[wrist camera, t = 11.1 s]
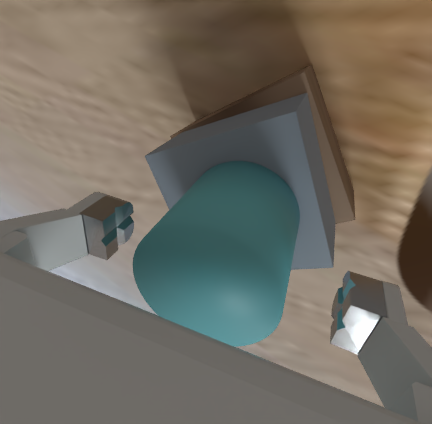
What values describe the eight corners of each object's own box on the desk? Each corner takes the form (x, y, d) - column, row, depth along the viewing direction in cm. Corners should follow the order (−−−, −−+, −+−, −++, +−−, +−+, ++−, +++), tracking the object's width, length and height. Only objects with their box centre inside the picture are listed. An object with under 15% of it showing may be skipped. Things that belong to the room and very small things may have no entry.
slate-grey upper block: (222, 234, 20) (199, 274, 17) (182, 132, 17) (144, 156, 14) (335, 221, 17) (333, 267, 13) (307, 92, 14) (295, 111, 11)
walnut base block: (244, 217, 23) (227, 246, 20) (197, 120, 21) (170, 136, 18) (353, 188, 19) (355, 219, 16) (312, 63, 17) (304, 71, 14)
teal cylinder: (220, 266, 16) (179, 348, 11) (172, 182, 14) (105, 244, 10) (316, 246, 13) (308, 343, 9) (272, 142, 11) (238, 203, 7)
